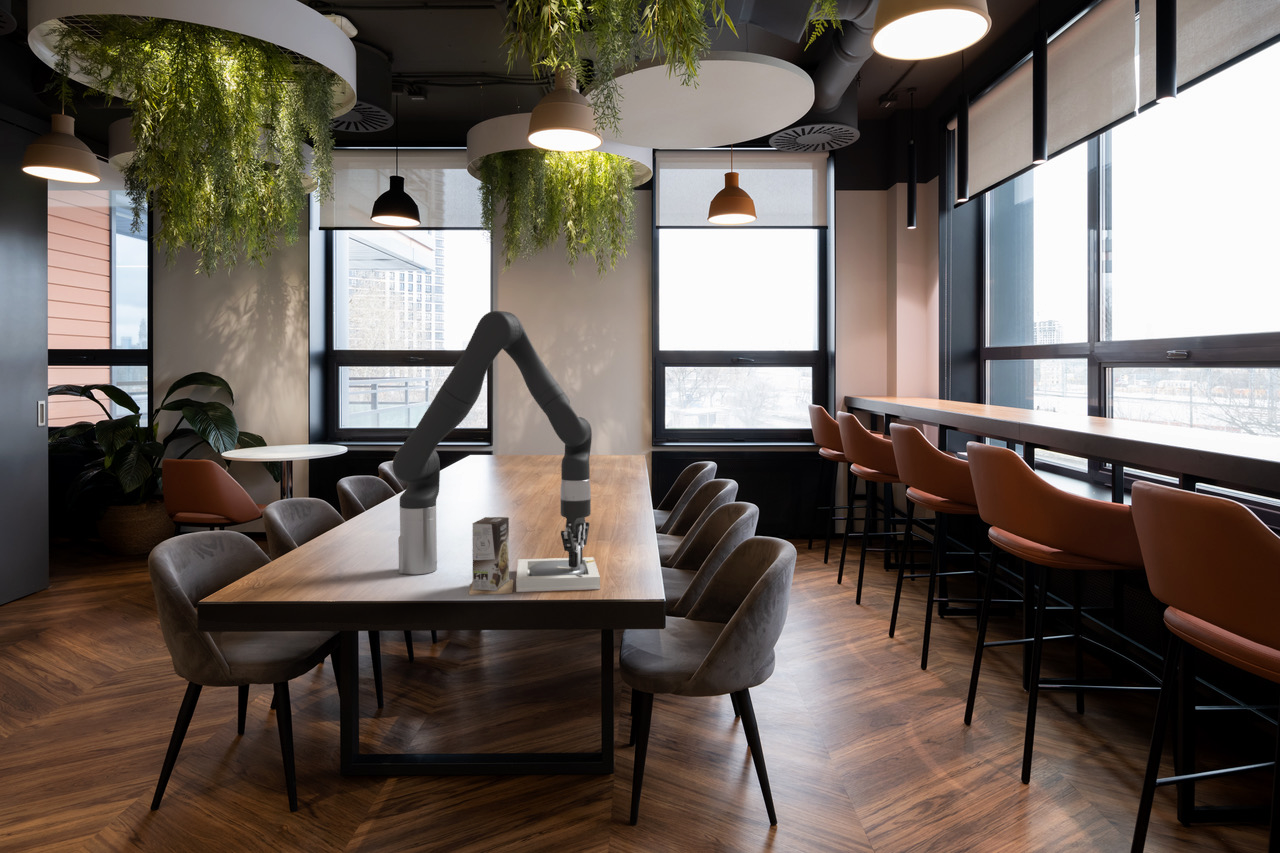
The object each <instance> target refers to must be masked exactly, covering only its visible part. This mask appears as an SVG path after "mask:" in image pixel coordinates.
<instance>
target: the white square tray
mask: <svg viewBox="0 0 1280 853" xmlns="http://www.w3.org/2000/svg"><path fill="white" fill-rule="evenodd" d="M595 560H596V559H595V557H593V556H590V557H587V556H586V557H585V556H584V557H583V562H582V565H584V566H585V575H579V574H576V575H558V576H529V568H530V567H531V566H532V565H534V564H538V563H542V562H549V561H569V557H560V558H559V557H557V558H555V557H553V558H522V559H521V558H520V559H519V558H518V559H517V569H516V579H515V580H516V584H515V586H516V591H515V592H516V593H522V592H523V593H525V592H527V593H528V592H551V591H552V592H553V591H579V590H580V591H582V590H583V591H584V590H585V591H586V590H600V589H601V576H600V573H599V572H600V571H599V570H598V566H597V562H596V561H595Z"/></svg>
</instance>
